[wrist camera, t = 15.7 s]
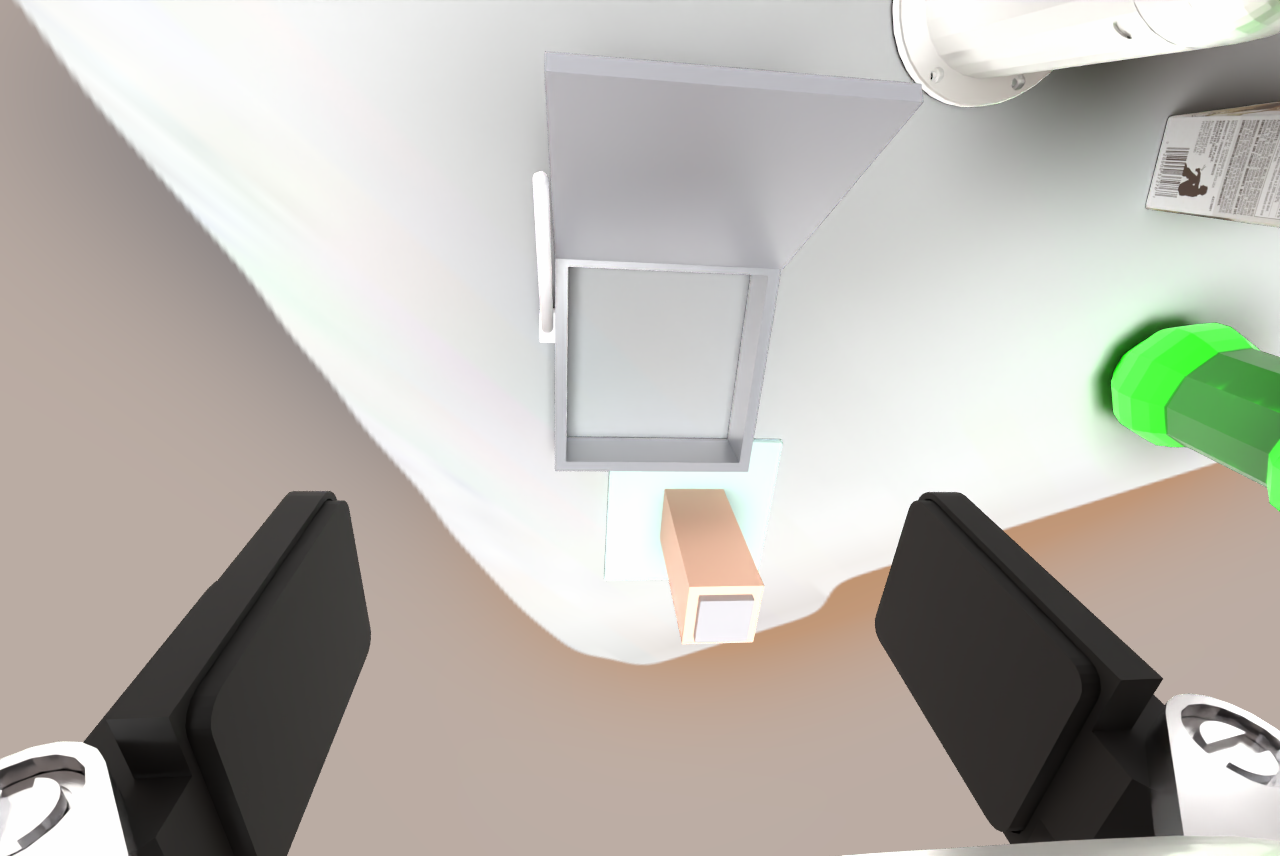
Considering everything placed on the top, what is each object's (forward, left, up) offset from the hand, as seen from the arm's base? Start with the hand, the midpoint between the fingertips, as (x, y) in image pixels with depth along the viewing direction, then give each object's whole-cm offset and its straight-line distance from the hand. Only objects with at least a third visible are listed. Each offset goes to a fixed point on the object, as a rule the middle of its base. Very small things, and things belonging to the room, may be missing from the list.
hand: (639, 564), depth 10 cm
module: (-9, +22, -34) cm, 41 cm away
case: (-4, +3, -34) cm, 35 cm away
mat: (-9, +22, -34) cm, 42 cm away
